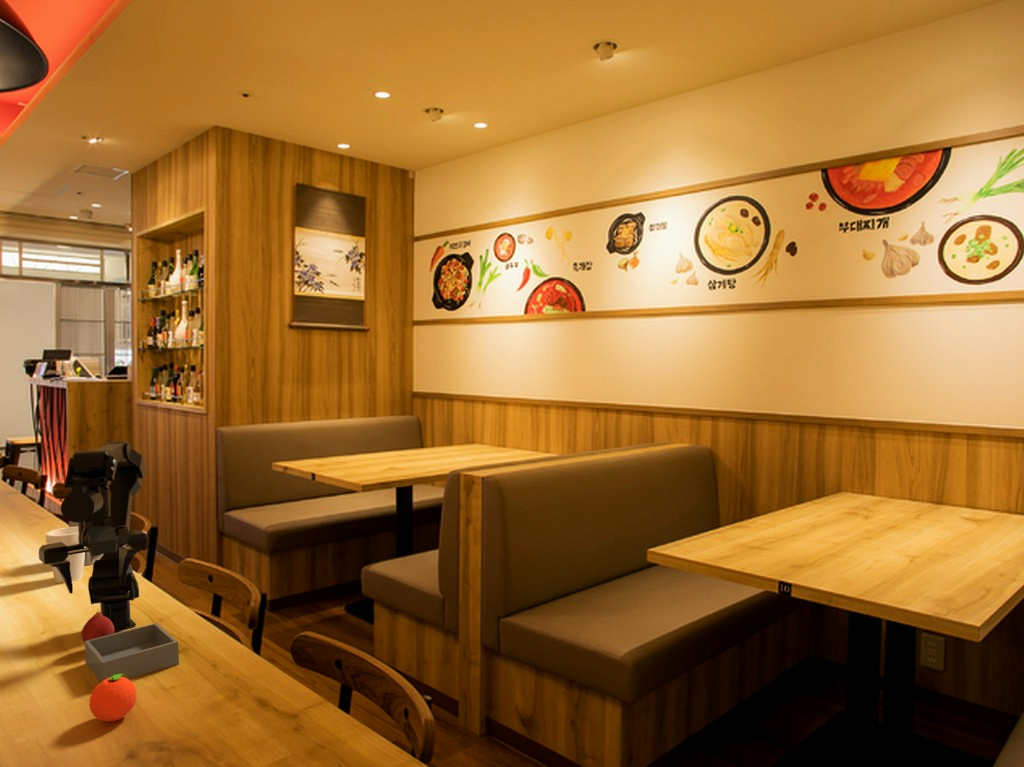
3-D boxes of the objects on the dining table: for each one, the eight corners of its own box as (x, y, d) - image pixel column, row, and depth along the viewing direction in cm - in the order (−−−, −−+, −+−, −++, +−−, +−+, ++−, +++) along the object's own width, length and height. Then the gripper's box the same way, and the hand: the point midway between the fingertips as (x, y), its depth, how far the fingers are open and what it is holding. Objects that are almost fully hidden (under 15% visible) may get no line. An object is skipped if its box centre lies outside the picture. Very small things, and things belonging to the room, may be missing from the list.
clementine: (106, 706, 124) (104, 666, 124) (147, 704, 124) (145, 664, 124) (81, 731, 116) (79, 688, 116) (125, 729, 116) (124, 686, 116)
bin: (85, 663, 140) (84, 641, 140) (157, 643, 150) (156, 622, 149) (103, 686, 131) (102, 662, 131) (179, 664, 140) (178, 641, 140)
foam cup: (74, 584, 187) (72, 535, 186) (39, 584, 187) (37, 536, 186) (96, 573, 196) (94, 526, 196) (63, 573, 197) (61, 526, 196)
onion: (78, 657, 143) (76, 618, 143) (87, 645, 149) (85, 608, 148) (110, 653, 145) (109, 615, 144) (118, 642, 150) (116, 605, 150)
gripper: (49, 525, 133) (52, 608, 134) (155, 510, 146) (158, 585, 147) (36, 517, 141) (39, 595, 142) (139, 503, 154) (141, 574, 155)
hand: (96, 587), depth 146 cm, fingers open, 9 cm apart
